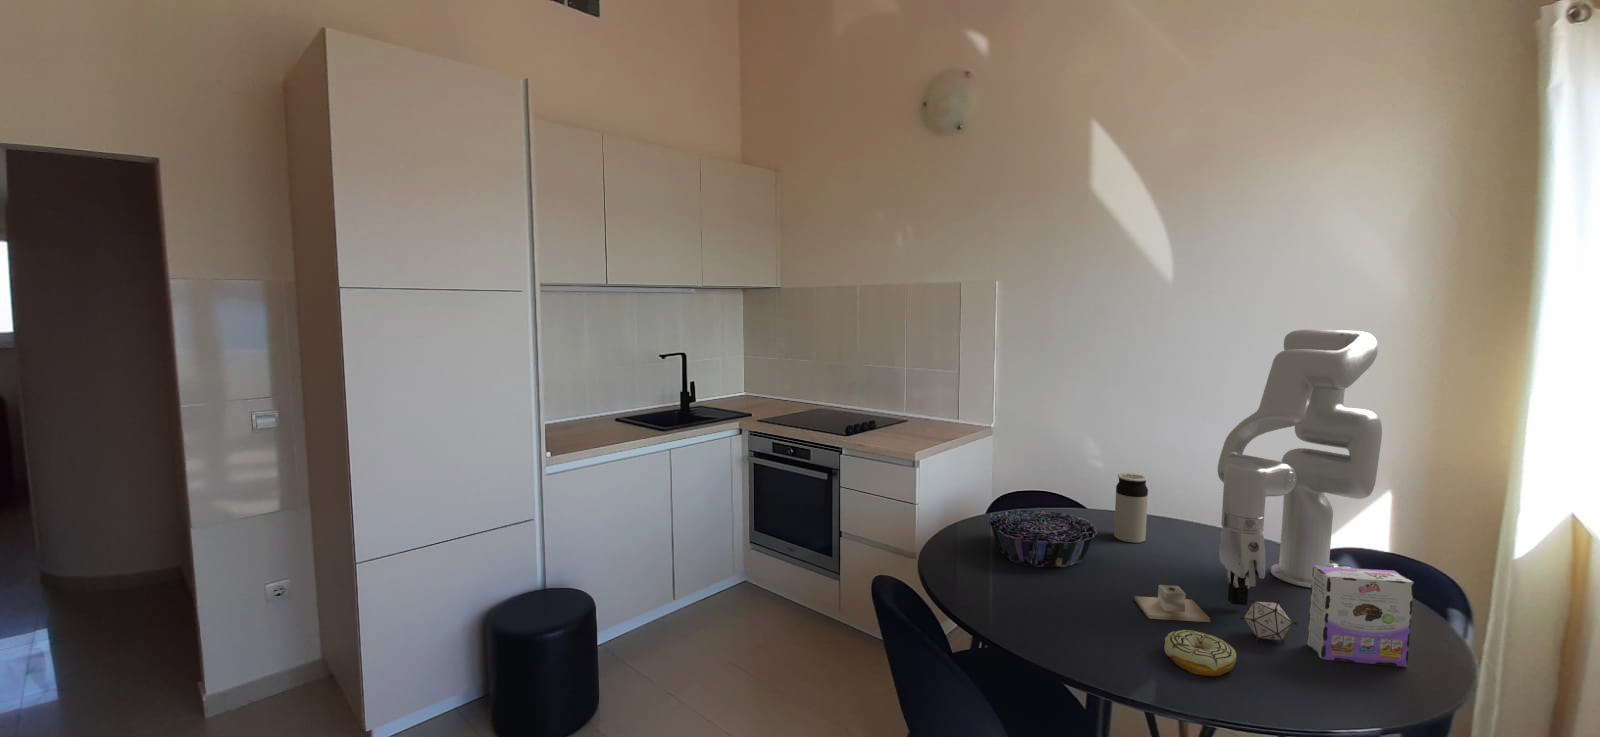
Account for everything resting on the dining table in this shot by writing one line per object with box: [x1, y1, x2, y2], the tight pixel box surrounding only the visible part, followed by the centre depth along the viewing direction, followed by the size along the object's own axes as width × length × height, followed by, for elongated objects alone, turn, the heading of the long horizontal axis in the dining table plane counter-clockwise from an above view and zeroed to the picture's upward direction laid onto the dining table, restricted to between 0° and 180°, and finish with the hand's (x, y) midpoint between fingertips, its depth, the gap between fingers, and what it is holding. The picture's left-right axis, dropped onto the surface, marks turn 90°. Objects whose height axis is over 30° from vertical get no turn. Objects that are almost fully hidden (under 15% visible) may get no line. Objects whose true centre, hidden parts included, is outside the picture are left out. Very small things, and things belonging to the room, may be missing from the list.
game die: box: [1238, 597, 1299, 645], centre depth 132 cm, size 9×8×10 cm
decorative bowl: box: [988, 509, 1099, 568], centre depth 177 cm, size 26×28×10 cm
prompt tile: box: [1133, 584, 1211, 623], centre depth 145 cm, size 12×9×5 cm
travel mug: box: [1113, 472, 1149, 544], centre depth 187 cm, size 8×8×18 cm
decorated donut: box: [1163, 629, 1237, 677], centre depth 124 cm, size 11×12×4 cm
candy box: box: [1306, 565, 1415, 668], centre depth 125 cm, size 14×6×16 cm, turn 77°
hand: (1237, 602), depth 145 cm, fingers closed
